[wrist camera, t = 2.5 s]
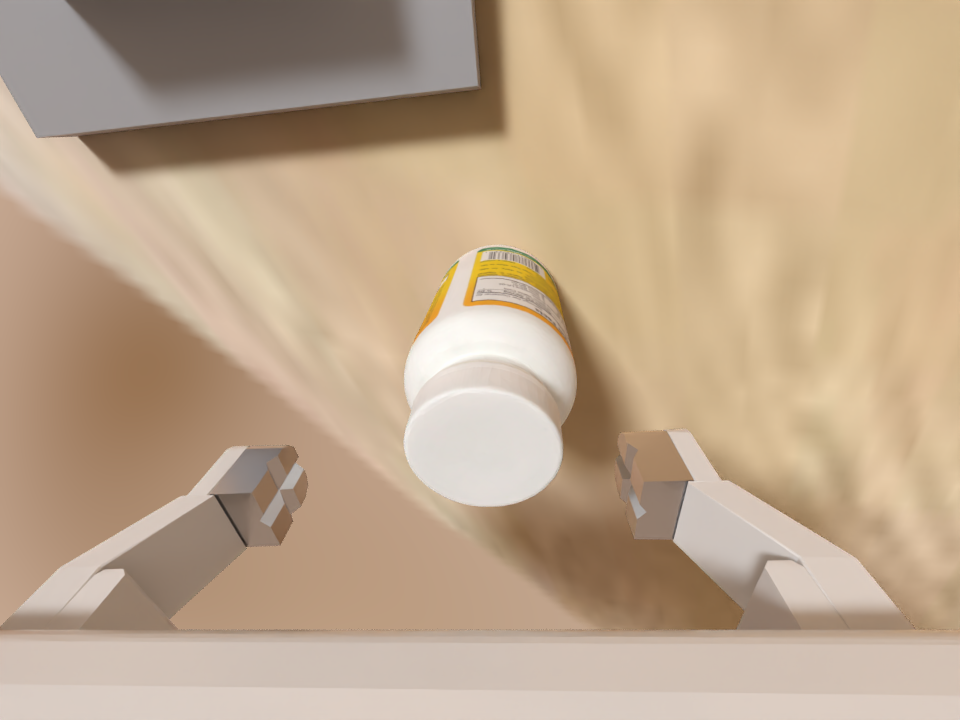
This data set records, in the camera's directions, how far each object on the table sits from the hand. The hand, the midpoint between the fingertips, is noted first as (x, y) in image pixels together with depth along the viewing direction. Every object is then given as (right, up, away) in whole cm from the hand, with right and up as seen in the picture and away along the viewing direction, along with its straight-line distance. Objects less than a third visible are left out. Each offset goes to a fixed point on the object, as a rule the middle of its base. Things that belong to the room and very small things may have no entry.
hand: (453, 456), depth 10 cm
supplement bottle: (+1, +5, +8) cm, 10 cm away
